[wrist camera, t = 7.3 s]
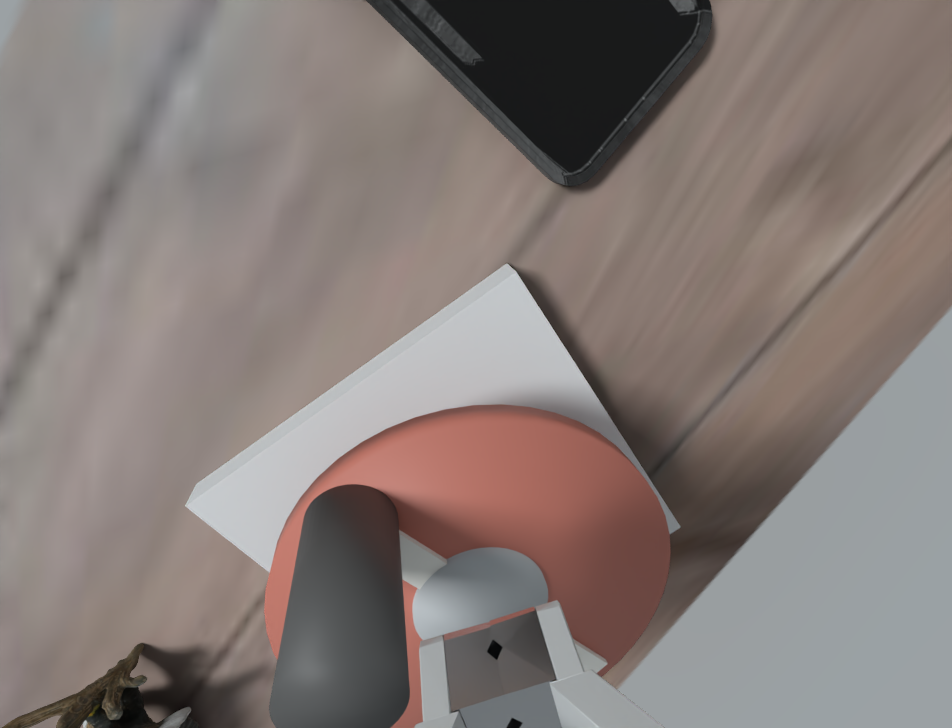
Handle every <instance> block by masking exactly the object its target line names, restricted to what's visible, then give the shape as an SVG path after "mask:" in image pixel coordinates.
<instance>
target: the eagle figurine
mask: <svg viewBox="0 0 952 728" xmlns="http://www.w3.org/2000/svg"><path fill="white" fill-rule="evenodd" d="M143 648H144V644H141V643H140V644H138V645H137V646H135V648H134V649H133V650H132V652H131V653H130V654H129V655H128V657H127V658H126V659H123V660H120V661H119V662H118V664H117V665H116V666H115V667H114V668H112V669H109V670H108V672H107V674H106V675H105V676H103V677H101V678H99V679H98V680H96V681H95V682H94V683H92V684H90V685H88V686H87V687H86V688H85V689H83V690H82V691H80V692H78V693H77V694H74V695H71V696H69V697H66V698H64V699H62V700H59V701H57V702H55V703H52V704H50V705H47V706H45V707H42V708H40V709H37V710H35V711H32V712H30V713H28V714H25V715H22V716H20V717H17V718H16V719H14V720H12V721H10V722H9V723H8V724H6V725H5V726H4V727H2V728H29V727H31V726H33V725H36V724H38V723H40V722H42V721H44V720H46V719H48V718H51V717H53V716H56V715H62V716H61V717H60V719H59V720H58V722H57V725H56V728H80V727H81V725H82V724H83V726H84V728H198V725H199V724H198V723H197V722H196V721H194V720H192V718H191V717H188V718H187V716H188V715H189V713H190V712H191V708H190V707H186V708H183V709H181V710H179V711H177V712H175V713H173V714H172V715H170V716H168V717H167V718H165V719H164V720H162V721H161V722H159V723H155V722H153V721H152V719H151V718H149V717H148V715H147V713H146V711H145V709H144V702H143V697H142V696H141V694H140V692H139V690H138V689H139V688H138V686H140V685H142V684H143V683H145V682H146V680H147V678H146V677H145V676H143V675H140V676H137V677H136V678H131V677H130V673H131V671H132V670H133V669H134V668H135V667H136V665H137V663H138V659H139V655H140V653H141V652H142V650H143ZM120 700H121V706H120ZM186 718H187V719H186Z"/></svg>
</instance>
